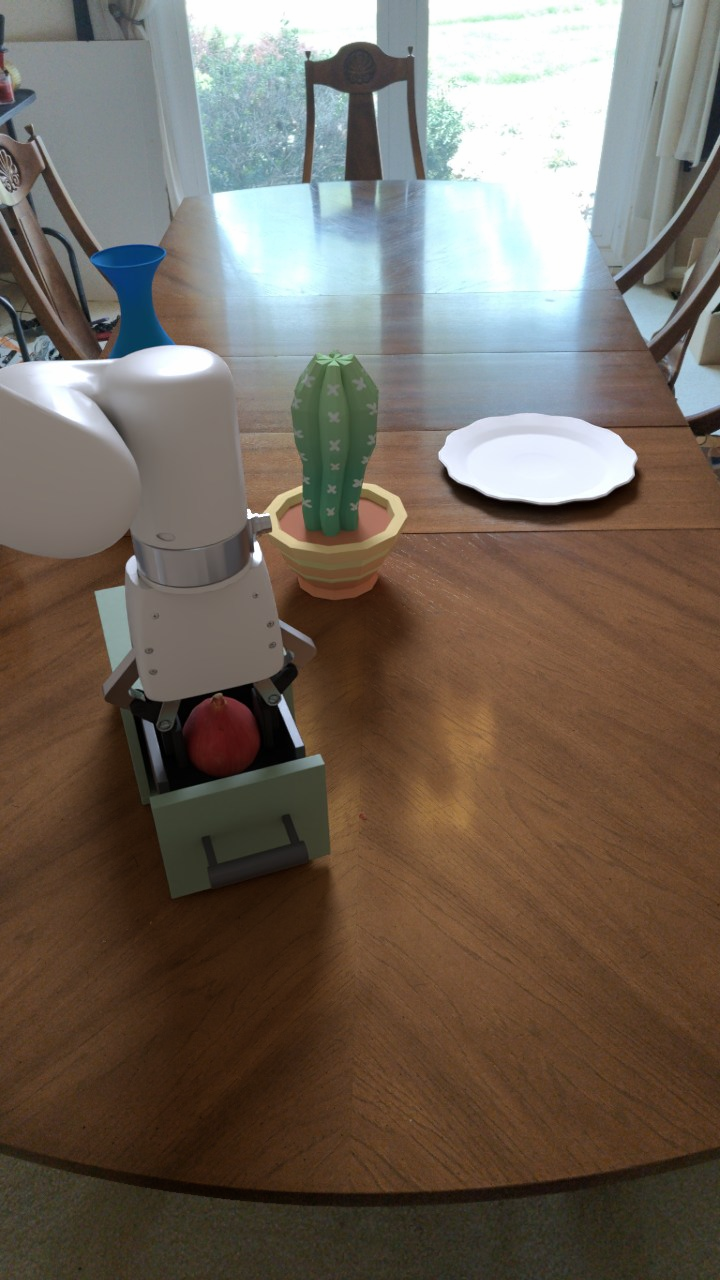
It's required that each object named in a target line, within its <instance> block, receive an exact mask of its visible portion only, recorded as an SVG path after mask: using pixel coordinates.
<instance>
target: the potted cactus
mask: <svg viewBox="0 0 720 1280" xmlns="http://www.w3.org/2000/svg"><path fill="white" fill-rule="evenodd" d="M293 392H294V396H293V400H292V402H291V405H290V413H291V421H292V431H293V438H294V444H295V447H296V450H297V452H298V455H299V458H300V461H301V465H302V485H299V486H297V487H294V488H292V489H289V490H287V491H285V492H282V493H280V494H278V495H276V497H275V498H274V499H273V500H272V501H271V503H270V504H269V505H268V506H267V508H266V509H265V510H264V511H263V513H269V516H270V519H271V523H272V532H271V533H266V534H267V536H268V539H269V542H270V545H272V546H274V547H275V548H276V549H278V550H279V553H280V554H281V555H282V558H283V559H284V562H285V564H286V566H288V568H290V570H291V571H293V572H294V573H295V574H296V577H297V580H298V583H299V588H300V589H301V590H303V591H304V592H306V593H308V594H309V595H310V596H312V597H314V598H319V599H325V600H330V601H339V600H345V599H346V600H347V599H355V598H357V597H359V596H361V595H363V594H365V593H367V592H369V591H371V590H372V589H373V588H374V586H375V584H376V583H377V581H378V579H379V575H378V571H379V570H380V569H381V568H382V567H383V565H384V564H385V562H386V560H387V558H388V556H389V555H390V553H391V551H392V548H393V547H395V545H396V543H397V542H398V539H400V536H401V535H402V533H403V531H404V530H405V527H406V524H407V520H408V517H409V515H408V513H407V510H406V508H405V507H404V504H403V502H402V500H401V498H400V497H399V496H398V495H395V494H394V493H392V492H391V491H388V490H386V489H384V488H383V487H381V486H380V485H377V484H375V483H366V482H364V479H365V474H366V469H367V466H368V464H369V461H370V459H371V456H372V454H373V452H374V450H375V447H376V445H377V434H378V414H379V413H378V412H379V397H380V396H379V393H380V390H379V388H378V386H377V385H376V383H375V382H374V380H373V379H372V377H371V376H370V375H369V373H368V372H367V370H366V369H365V368H364V367H363V365H362V364H361V362H360V361H359V359H358V358H357V357H356V356H355V354H354V353H349V354H346V355H343V354H342V353H341V352H340V351H339V350H338V349H333V350H331V351H330V352H329V354H328V355H325V354H323V353H321V352H316V353H315V354H314V355H313V357H312V358H311V360H310V361H309V362H308V364H307V366H306V367H305V368H304V370H303V371H302V372H301V374H300V375H299V377H298V379H297V382H296V385H295V388H294V390H293Z"/></svg>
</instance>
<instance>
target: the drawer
mask: <svg viewBox="0 0 720 1280" xmlns="http://www.w3.org/2000/svg"><path fill="white" fill-rule="evenodd" d="M252 688H253V683H249V684H245V685H241V686H236V687H232V688H228V689H224V690H219V691H215V692H211V693H206V694H202V695H197V696H193V697H188V698H183V699H181V702H180V705H179V708H178V712H177V714H178V718H179V721H180V725H181V728H182V732H183V728H184V724H185V723H186V721H187V719H188V717H189V716H190V714H191V712H192V710H193V709H194V708H195V707H196V706H198V705H199V704H200V703H202V702H203V701H204V700H206V699H209V698H212V697H213V696H214V695H216V694H218V693H222V695H223V697H228V698H232V699H235V700H237V701H239V702H240V703H242V704H244V705H245V706H246V707H247V708H248V709H249V710H250V711H251V712H252V714H253V715H254V707H253V699H252V691H251V689H252ZM281 696H282V700H281V702H280V703H279V704H277V708H278V718H279V729H276V730H273V739H274V747H270V748H267V747H264V745H263V742H262V739H261V740H260V748H259V750H258V753H257V755H256V757H255V759H254V761H253V763H252V764H251V765H250V766H248V767H247V768H246V769H245V770H244V771H242V772H240V773H238V774H235V775H233V776H228V777H217V776H210V775H208V774H206V773H204V772H202V771H200V770H199V769H197V768H196V767H195V766H194V765H193V764H192V763H191V762H190V761H189V759H188V758H187V760H188V766H186V769H181V770H179V767H178V763H177V759H176V756H175V754H173V755H169V756H166V753H165V749H164V745H163V741H162V736H161V731H159V730H158V729H157V726H156V725H155V724H153V723H151V722H148V721H146V720H144V719H141V718H140V721H141V725H142V730H143V734H144V739H145V744H146V748H147V753H148V757H149V762H150V766H151V771H152V775H153V779H154V783H155V787H156V791H157V795H156V796H153V797H150V798H149V799H150V803H149V804H150V808H151V812H152V817H153V821H154V825H155V830H156V834H157V839H158V844H159V848H160V853H161V856H162V857H161V858H162V861H163V865H164V871H165V874H166V879H167V883H168V888H169V891H170V892H169V894H170V896H171V899H172V900H173V899H177V898H181V897H184V896H188V895H191V894H195V893H198V892H202V891H206V890H209V889H211V890H216V889H219V888H223V887H225V886H226V887H227V886H230V885H233V884H237V883H241V882H245V881H249V880H252V879H255V878H258V877H262V876H266V875H269V874H273V873H276V872H279V871H283V870H287V869H291V868H294V867H297V866H300V865H304V864H308V863H309V862H310V861H311V860H316V859H319V858H322V857H327V856H330V855H331V854H332V851H331V837H330V836H331V835H330V821H329V804H328V803H329V802H328V791H327V773H326V763H325V761H324V758H323V756H322V755H321V753H317V754H314V755H310V756H307V753H306V744H305V742H304V740H303V738H302V735H301V733H300V731H299V728H298V726H297V724H295V722H296V720H295V721H294V719H293V717H292V714H291V712H290V710H289V707H288V705H287V703H286V700H285V698H284V696H283V693H282V694H281ZM254 717H255V716H254Z"/></svg>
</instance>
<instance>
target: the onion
mask: <svg viewBox="0 0 720 1280" xmlns="http://www.w3.org/2000/svg"><path fill="white" fill-rule="evenodd" d="M183 738H184V743H185V749H186V754H187V758H188V759H189V761H190V762H191V763H192V764H193V765H194V766H195V767H196V768H197V769H199V770H200V771H202V772H204V773H206V774H208V775H210V776H217V777H228V776H233V775H235V774H238V773H240V772H242V771H244V770H245V769H246V768H247V767H248V766H250V765H251V764H252V763H253V761H254V759H255V757H256V755H257V753H258V750H259V748H260V740H261V737H260V728H259V724H258V721H257V720H256V718H255V717H254V715H253V714H252V712H251V711H250V710H249V709H248V708H247V707H246V706H245V705H244V704H242V703H240V702H239V701H237V700H235V699H232V698H228V697H223V695H222V693H218V694H216V695H214V696H213V697H212V698H209V699H206V700H204V701H203V702H202V703H200V704H199V705H198V706H196V707H195V708H194V709H193V710H192V712H191V714H190V716H189V717H188V719H187V721H186V723H185V724H184V728H183Z"/></svg>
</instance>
